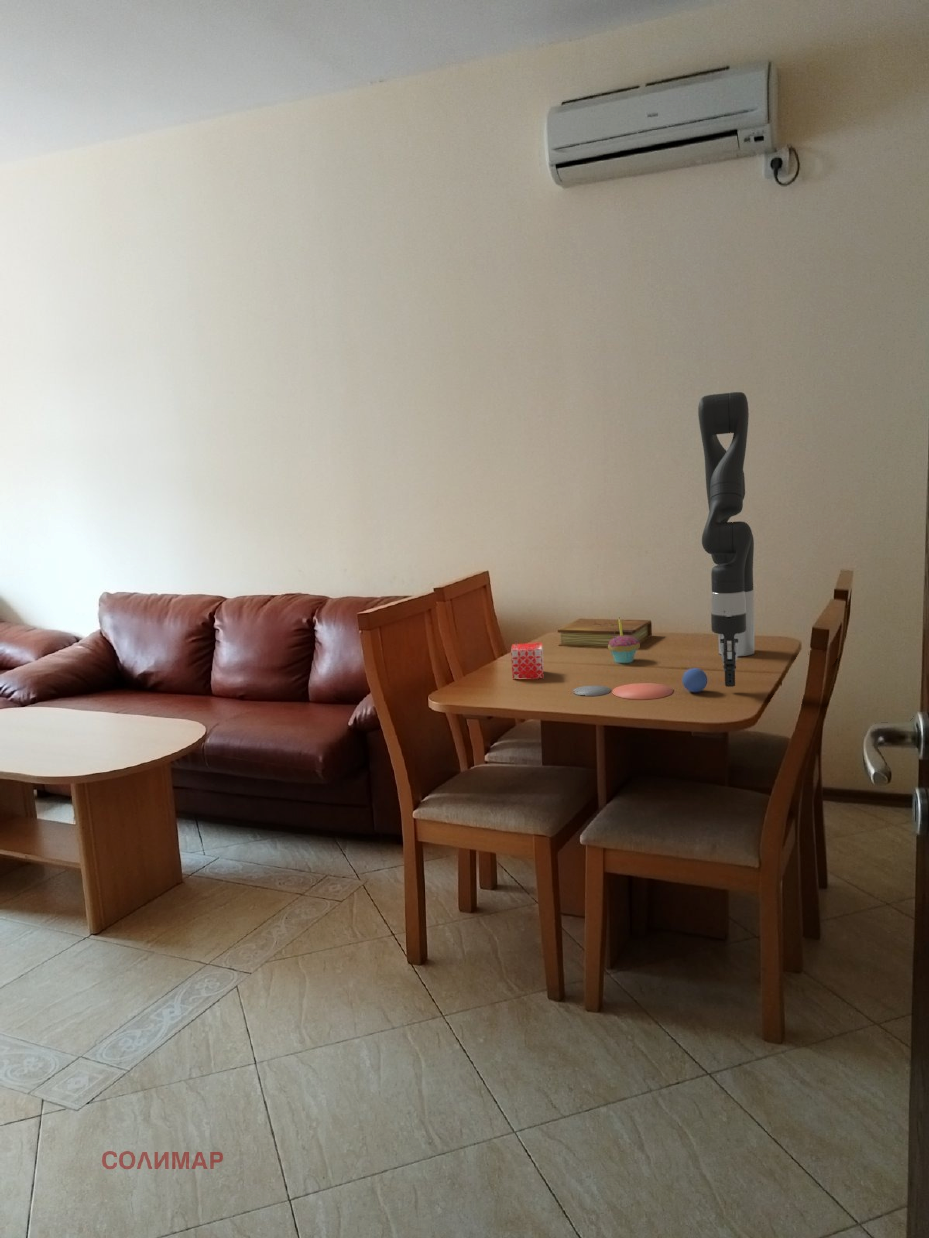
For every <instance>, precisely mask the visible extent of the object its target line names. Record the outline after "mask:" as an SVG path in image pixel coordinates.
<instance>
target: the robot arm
mask: <svg viewBox="0 0 929 1238" xmlns="http://www.w3.org/2000/svg"><path fill="white" fill-rule="evenodd" d="M697 412H698V414H697V415H698V424H699V430H700V437H701V443H702V447H703V448H702V449H703V455H704V469H705V470H704V472H705V485H706V486H705V487H706V488H705V489H706V496H707V497H706V498H707V505H708V517H707V520H706V523H705V525H704V529H703V532H702V535H701V545H702V548H703V549H704V551H705V552H706V553H707V554H710V555H711V560H712V562H713V563H714V564H715V565H714V566H713V567H712V568H711V574H710V576H711V578H710V579H711V599H710V617H711V619H710V620H711V625H710V627H711V632H712V633H714V634H718V653H719V654H720V655H721V661H722V664H723V671H724V685H725V687H726V688H727V687H728V688H729V687H730V688H731V687H735V686H736V669H737V666H736V662H737V661H738V657H745V656H751V655H753V654H755V603H754V602H755V599H754V594H755V593H754V591H755V590H754V553H755V552H754V551H755V549H754V548H755V547H754V546H755V543H754V542H755V541H754V540H755V539H754V535H753V531H752V528H751V526H750V525H749V523H747V522H745V521H729V520H730V519H731V517H735V516H738V515H739V514H741V512H742V511H743V509H744V508H743V507H744V505H743V504H744V499H745V495H746V483H745V481H746V480H745V473H744V465H745V457H746V451H747V441H748V440H747V439H748V431H749V418H750V417H749V401H748V397H747V395H746V394H745V393H744V392H741V391H734V392H733V391H732V392H724V393H717V394H716V393H715V394H708V395H704V396H702V397H701V398H700V400H699V402H698V410H697ZM725 434H727V435H728V434H733V435H732V440H731V442H730V445H729V447H728V449H727V450H726V449H725V447H724V446H723V445H722V444H721V442H720V440H719V438H718V436H717V435H725Z"/></svg>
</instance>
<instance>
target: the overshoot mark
mask: <svg viewBox="0 0 929 1238" xmlns="http://www.w3.org/2000/svg"><path fill="white" fill-rule="evenodd" d="M573 691H575V692H573ZM577 691H578V692H577ZM610 692H612V690H611V688H610V687H609V686H604V685H583V686H579V687H576V688H574V689H573V690H572V693H573V694H574V693H575V694H574V695H577V696H580V695H585V696H584V697H597V696H604V695H607V694H610Z"/></svg>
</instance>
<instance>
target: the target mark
mask: <svg viewBox="0 0 929 1238" xmlns="http://www.w3.org/2000/svg"><path fill="white" fill-rule="evenodd" d="M611 692H612V694H613V695H614V696H616V697H617V698H622V699H626V700H637V701H638V700H639V701H642V700H643V701H644V700H646V701H647V700H654V699H655V700H657V699H661V698H666V697H668V696H671V695H672V694H673V693H674V689H673V687H671V686H668V685H665V684H661V683H650V682H648V683H647V682H638V683H629V684H623V685H620V686H616V687H614V688H613V690H611Z"/></svg>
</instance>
